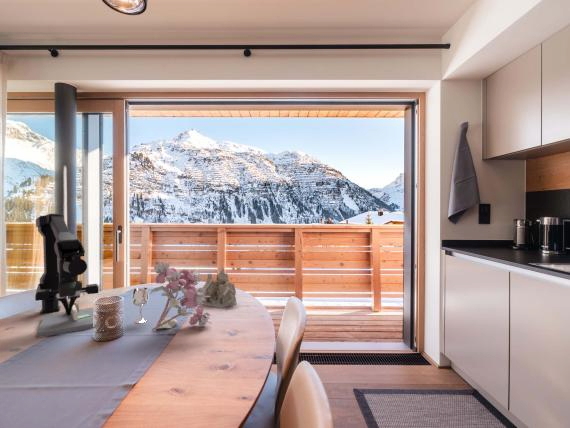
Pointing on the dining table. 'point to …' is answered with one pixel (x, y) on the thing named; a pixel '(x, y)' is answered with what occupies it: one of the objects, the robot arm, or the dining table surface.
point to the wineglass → (140, 301)
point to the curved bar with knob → (74, 310)
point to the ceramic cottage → (219, 291)
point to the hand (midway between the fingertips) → (68, 315)
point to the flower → (188, 301)
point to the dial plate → (65, 323)
